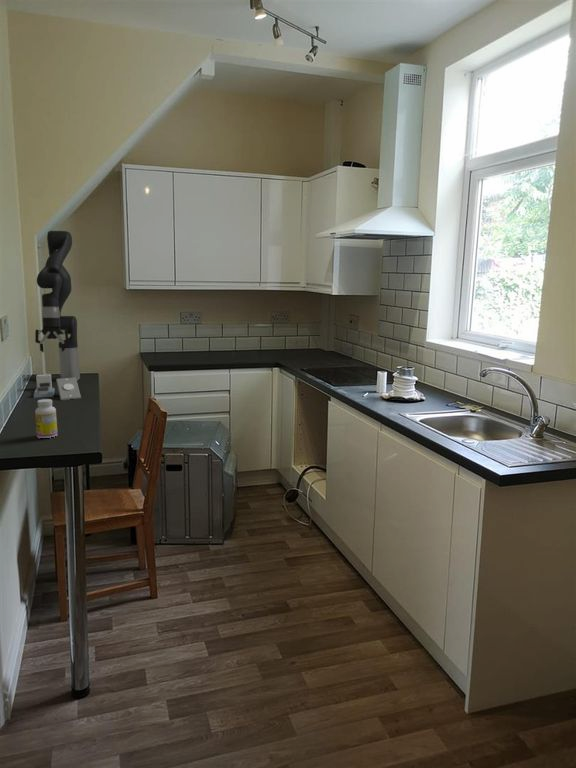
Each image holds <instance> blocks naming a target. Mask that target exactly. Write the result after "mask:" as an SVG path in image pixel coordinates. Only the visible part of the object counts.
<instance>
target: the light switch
mask: <svg viewBox="0 0 576 768" xmlns="http://www.w3.org/2000/svg"><path fill="white" fill-rule="evenodd" d="M55 381H56V385H57V391H58V394H59V399H60V401H61V400H63V401H71V400H70V399H74V400H81V399H82V395H81V393H80V392H81V391H80V389H79V384H78V380H76V378H61V377H60V378H56V380H55Z"/></svg>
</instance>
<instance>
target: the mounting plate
mask: <svg viewBox="0 0 576 768" xmlns="http://www.w3.org/2000/svg"><path fill="white" fill-rule="evenodd" d="M55 390H56V389H55V387H52V388H49V391H48V394H39V391H38V389H37V388H35V390H34V393H33V398H35V399H36V398H37V399H38V398H50V397H51V398H53V397H54V395H55Z"/></svg>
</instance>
